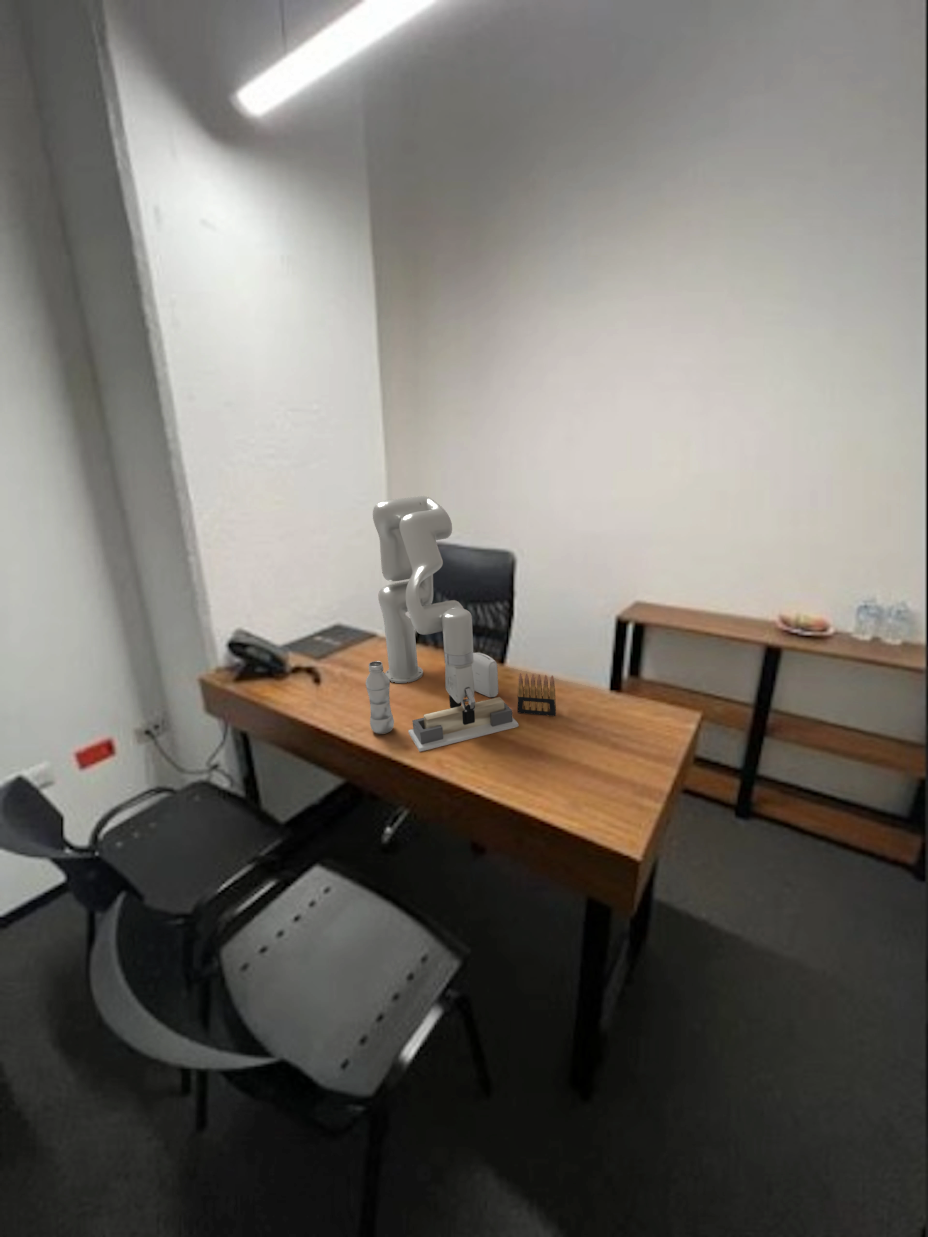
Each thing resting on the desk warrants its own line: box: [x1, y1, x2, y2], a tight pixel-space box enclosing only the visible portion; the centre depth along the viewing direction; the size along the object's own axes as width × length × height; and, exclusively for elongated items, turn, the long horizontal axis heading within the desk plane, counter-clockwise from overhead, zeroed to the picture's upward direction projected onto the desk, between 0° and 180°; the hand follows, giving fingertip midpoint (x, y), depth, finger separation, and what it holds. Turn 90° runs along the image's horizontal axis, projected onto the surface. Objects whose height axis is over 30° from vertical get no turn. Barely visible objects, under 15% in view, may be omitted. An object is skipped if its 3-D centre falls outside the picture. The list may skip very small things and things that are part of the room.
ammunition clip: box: [517, 672, 557, 717], centre depth 158 cm, size 11×2×12 cm, turn 74°
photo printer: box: [471, 652, 499, 698], centre depth 172 cm, size 10×4×12 cm, turn 39°
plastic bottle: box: [365, 660, 395, 735], centre depth 152 cm, size 6×7×20 cm
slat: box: [423, 696, 505, 735], centre depth 152 cm, size 3×22×6 cm, turn 111°
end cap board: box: [408, 702, 519, 752], centre depth 152 cm, size 10×28×4 cm, turn 111°
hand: (462, 714), depth 152 cm, fingers open, 9 cm apart
